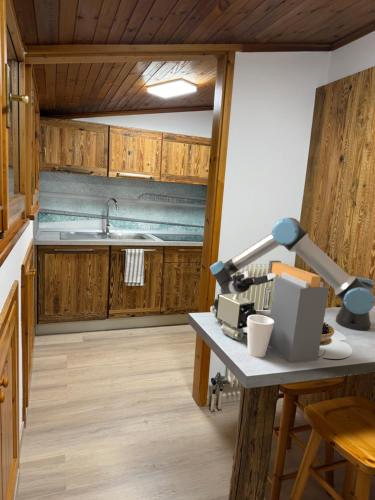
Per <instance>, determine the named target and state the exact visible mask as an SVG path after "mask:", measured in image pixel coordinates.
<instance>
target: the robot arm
mask: <svg viewBox="0 0 375 500" xmlns="http://www.w3.org/2000/svg"><path fill="white" fill-rule="evenodd" d="M279 246H281V247H284V248H285V250H286V249H287V251H288V252H293V253H295V254H296V255H297V256H299V257H300V258H301V260H303V261H304V262H305V263H306V264H307V265H308V266H309V267H310V268H311V269H313V271H314V272H316V274H317V275H319V276H321V278H322V279H323V280H324V281H325V282H326V283H327V284H328V285H329V286H331V287H332V289H333V290H334V295H335V296H336V297H337V298H338V299H339V301H341V302H342V304H341V307H340V309H339V311H338V313H337V315H336V316H335V322H336V323H337V324H338V325H340V326H342V327H345V328H347V329H350V330H355V331H356V330H357V331H368V330H370V329H371V326H372V325H371V324H372V323H371V318H370V311H371V310H372V309H373V308H374V306H375V295H374V293H373V292H374V285H375V282H374V280H373V279H370V278H365V277H359V276H355V275H354V276H352V275H349V273H347V272H346V271H345V270H344V269H342V267H340V265H338V264H337V262H335V261H334V260H333V259H332V258H331V257H329V255H327V254H326V253H325V252H324V251H323V250H322V249H321V248H320V247H318V245H316V243H314V242H313V241H312V240H311V239H310V237H309V232H308V231H306V230H305V229H304V228H303V227H302V224H301V222H300V221H299V220H297V218H294V217H285V218H280V219H279V220H278V221H277V222H275V223H274V225H273V227H272V229H271V232H270V233H269V234H268V235H265V236H264V237H263V238H261V239H259V240H258V241H257V242H254V243H253V244H252V245H250V246H249V247H247V248H245V249H244V250H242V251H241V252H239V253H238V254H236V255H235V256H233V257H232V258H230V259H229V260H227V261H225V262H223V261H222V260H218V261H217V262H214V263H213V264H212V265H210V266H209V270H210V272H211V274H212V276H213V277H214V279H215V280H216V282H217V283H218V285H219V292H220V293H219V294H225V293H233V294H238V296H240V295H241V294H243V293H244V292H247V291H248V290H249V289H250V287H252V286H259V285H262V284H266V283H269V282H273V281H274V279H275V277H278V275H277V274H274V273H269V272H267V274H266V275H263V276H257V277H256V276H252V277H251V275H250V270H249V269H248V270H246V271H244V272H242V273H240V274H237V275H236V273H237V272H239V271H241V270H242V269H244V268H245V267H247V266H249V265H250V264H252V263H254V262H255V261H256V260H259V259H260V258H262V257H263V256H265V255H266V254H268V253H269V252H271V251H273V250H274V249H276V248H278V247H279Z"/></svg>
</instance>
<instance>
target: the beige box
mask: <svg viewBox="0 0 375 500" xmlns="http://www.w3.org/2000/svg"><path fill="white" fill-rule="evenodd" d="M210 312H211V313H212V314H214V318H215V319H216V320H217V321H216V322H217V323H218V324H222V323H223V320H221V319H219V318H217V317H216V310H215V308H214V304H213V305H212V306H210Z"/></svg>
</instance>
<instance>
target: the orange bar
mask: <svg viewBox="0 0 375 500" xmlns="http://www.w3.org/2000/svg"><path fill="white" fill-rule="evenodd" d="M267 270H268V271H267V273H274V274H277V276H278V277H281V275H282V273H287V274H289V275H291V276H294V277H296V278H299V279H301V280H304V281H306V282H308V283H309V288H318V287H319V285H320V282H321V278H322V277H321V276H320V275H319V274H317V273H312V272H310V271H306V270H304V269H301V268H298V267H295V266H292V265H289V264H287V263H284V262H282V261H281V260H269V262H268V269H267Z"/></svg>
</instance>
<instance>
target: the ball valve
mask: <svg viewBox="0 0 375 500" xmlns="http://www.w3.org/2000/svg"><path fill="white" fill-rule="evenodd" d="M255 304H256V303H255V302H254V301H252V300H249V299H248V298H246V297H244V296H240V295H238V294H233V293H225V294H220V293H218V294H217V297H215V300H214V301H213V305H214V308H215V310H216V317H217V318H219V319H221V320H222V322H224V323H223V324H222V325H221V329H220V330H221V331H222V333H223V334H225V335H226V336H228V337H230V338H231V339H233V340H236V341H241V340H242V339H243V338H244V332H245V331H244V329H245V328H247V318H248V316H250V315H258V313H257V310H256V309H255V308H256V307H255Z"/></svg>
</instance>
